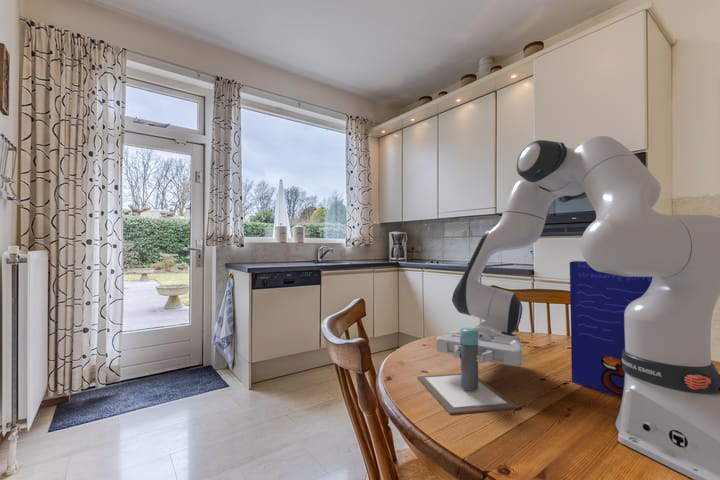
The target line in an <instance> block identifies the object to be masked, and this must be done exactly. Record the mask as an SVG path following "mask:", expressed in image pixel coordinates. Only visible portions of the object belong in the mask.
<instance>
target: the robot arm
mask: <svg viewBox="0 0 720 480" xmlns="http://www.w3.org/2000/svg"><path fill="white" fill-rule="evenodd" d="M516 172H517V174H518V175H519V176H520V177H521V179H519V180H518V181H516V182H515V184H514V185H513V187H512V189H511V191H510V192H509V195H508V197H507V199H506V203H505V204H504V207H503V212H502V214H501V215H502V216H501V218H500V219H499V221H498V223H497V224H496V225H495V226H493V228H490V229H487V230H486V231H485V232H484V233H483V235H482V236H481V238H480V240H479V242H478V243H477V246H476V248H475V249H474V252H473V254H472V256H471V257H470V259H469V262H468V264H467V267H466V268H465V270H464V273H463V275H462V277H461V279H460V280H459V281H458V283H457V285H456V286H455V288H454V290H453V293H452V297H451V302H452V304H453V306H454V307H455V309H456V311H457V312H458V313H459V314H463V315H467V316H469V317H472V316H473V317H475V318H478V319H481V320H484V321H482V322H481V323H479V324H478V325H476V326H474V327H473V328H474V329H477V330H478V354H477V356H476V358H477V359H476V361H477V362H478V364H479V363H480V364H485V363H486V362H491V363H496V364H499V365H506V366H512V367H521V366H522V364H523V352H522V351H523V349H522V343H521V339H520V336H519V335H517V334H514V333H515V332H516V331H517V330H518V327H519V325H520V323H521V319H522V315H523V305H522V304H523V303H522V302H521V300H520V297H518V295H517V294H516V293H515V292H512V291H508V290H505V289H501V288H497V287H493V286H489V285H486V284H483V283H480V282H479V279H480V278H481V276H482V273H483V272H484V270H485V267H486V265H487V263H488V261H489V259H490V258H491V256H493V255H494V254H497V253H499V252H504V251H510V250H511V251H512V250H519V249H524V248H527V247H530V246H531V245H533V244H535V243H536V242H537V241H538V240H539V239H540V238H541V235H542V233H543V230H544V227H545V224H546V220H547V217H548V212H549V208H550V206H551V204H552V203H553V202H554V201H556V200H558V201H559V202H561V203H567V202H570V201H574V200H582V199H586V198H587V199H588V201H589V202H590V205H591V206H592V208H593V209H594V211H595V216H596V217H595V220H594V221H592V222H591V223H590V224H589V225H588V226H587V227H586V229H585V230H584V232H583V233H582V237H581V240H580V251H581V255H582V256H583V260H584V261H586V262H587V264H588V265H589V266H590V267H591V268H592V269H594V270H596V271H598V272H603V273H608V274H613V275H618V276H624V277H652V281H651V284H650V286H649V288H648V289H647V291H646V292H645V293H644V294H643V295H642V296H641V297H640V298H638V299H636V300H634V301H632V302H631V303H630V304H629V305H628V306H627V307H626V309H625V312H624V330H625V349H623V350H622V369H623V370H624V372H625V379H624V390H623V397H622V396H621V404H620V407H619V412H618V414H617V415H618V416H617V417H616V420H615V422H614V423H615V427H616V429H617V430H618V433H617V434H618V435H617V441H618V442H619V443H620V444H622V445H624V446H625V447H628V448H630V449H632V450H634V451H636V452H638V453H640V454H643V455H645V456H646V457H649V458H650V459H652V460H655V461H656V462H658V463H660V464H662V465H664V466H666V467H669V468H670V469H672V470H674V471H676V472H679V473H681V474H683V475H685V476H687V477H689V478H690V479H692V480H720V373H719V371H718V369H717V367H716V366H715V364H714V363H713V362H712V357H711V355H712V351H711V349H712V348H711V346H712V345H711V344H712V343H711V340H712V339H711V338H712V319H713V314H714V310H715V307H716V305H717V301H718V300H719V298H720V216H715V215H710V214H663V213H660V212H658V211H656V210H654V209H653V207H655V205H657V204H656V203H657V202H658V201H659V198H660V195H661V188H662V187H661V183H660V182H659V180H658V179H657V178H656V176H654V175H653V174H652V173H651V171H650V170H649V169H648V168H647V167H646V166H645V164H643V162H642V161H641V160H640V158H638V157H637V155H636V154H634V153H633V152H632V151H631V150H630V149H629V148H628V147H626V145H624V144H622V143H621V142H620V141H618V140H616V139H614V138H613V137H611V136H606V135H598V136H593V137H591V138H588V139H586V140H584V141H583V142H581V143H580V144H578V146H576V147H568V146H566V145H565V143H564V142H560V141H554V140H553V141H552V140H545V139H544V140H542V139H537V140H534V141H532V142H530V143H529V144H528V145H526V146H524V148H523V149H522V150H521V152H520V153H519V155H518V158H517V160H516ZM435 350H436V352H438V353H442V354H448V355H452V356H453V358H454V359H460V360H461V343H460V334H459V333H445V334H441V335H439V336H437V337H436V339H435Z"/></svg>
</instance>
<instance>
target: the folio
mask: <svg viewBox="0 0 720 480" xmlns="http://www.w3.org/2000/svg"><path fill="white" fill-rule="evenodd" d="M416 379H417V380H418V381H419V382H420V383H421V384H422V385H423V386H424V387H425V388H426V390H427V391H428V392H429V393H430V394H431V396H433V397H434V399H435V400H436V401H437V402H439V404H440V405H441V406H442V407H443V408H444V409H445V411H446V412H447V413H448V414H449V415H458V414H459V415H460V414H470V413H479V412H480V413H481V412H491V411H493V412H494V411H501V410H502V411H503V410H510V409H513V410H514V409H519V406H518V405H517V404H515V403H514V402H513V401H511V400H510V398H507V397H506V396H504V395H503V394H501V393H500V392H499V391H497V389H495V388H493V387H492V386H491V385H489V384H488V383H486V382H485V381H484V380H482V379H481V378H479V377H478V389H477V390H467V389H464V388H462V387H461V372H460V373H448V374H447V373H446V374H434V375H433V374H432V375H421V376H419V375H417V378H416Z"/></svg>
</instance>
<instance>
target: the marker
mask: <svg viewBox="0 0 720 480" xmlns="http://www.w3.org/2000/svg"><path fill="white" fill-rule="evenodd" d="M474 328H475V327H461V328H460V329H459V335H460V343H461V359H460V373H461V387H462V388H464V389H467V390H477V389H478V378H479V362H477V361H476V359H477V358H476V356H477V354H478V330H477V329H474Z"/></svg>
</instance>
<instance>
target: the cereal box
mask: <svg viewBox="0 0 720 480" xmlns="http://www.w3.org/2000/svg"><path fill="white" fill-rule="evenodd" d="M651 281H652V277H624V276H618V275H613V274H608V273H603V272H598V271H596V270H594V269H592V268H591V267H590V266H589V265H588V264H587V262H586V261H585V260H572V261H569V295H570V300H569V303H570V305H569V307H570V348H571V350H570V351H571V352H570V356H571V383H573V384H574V383H575V384H578V385H581V386H583V387H588V388H591V389H594V390H598V391H601V392H605V393H608V394H612V395H615V396H618V397H621V398H622V397H623V390H624V379H625V372H624V370H623V369H622V350H623V349H625V330H624V312H625V309H626V307H627V306H628V305H629V304H630V303H631V302H632V301H634V300H636V299H638V298H640V297H641V296H642V295H643V294H644V293H645V292H646V291H647V289H648V288H649V286H650V284H651Z"/></svg>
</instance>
